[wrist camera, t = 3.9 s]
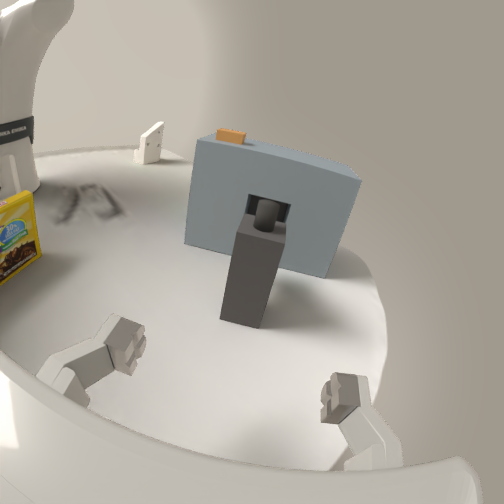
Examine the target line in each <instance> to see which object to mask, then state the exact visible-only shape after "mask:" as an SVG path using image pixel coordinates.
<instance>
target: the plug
mask: <svg viewBox="0 0 504 504" xmlns="http://www.w3.org/2000/svg"><path fill="white" fill-rule="evenodd" d="M279 208H280V205H279V204H278V203H276V202H274V201H271V200H266V199H262V200H259V203H258V207H257V211H256V216H254V215H250V214H246V213H244V215H243V218H242V220H241V222H240V225H239V227H238V229H237V232H236V237H235V242H234V247H233V252H232V257H231V262H230V267H229V272H228V277H227V283H226V288H225V293H224V298H223V304H222V309H221V314H220V319H221V320H225V321H229V322H233V323H237V324H241V325H245V326H249V327H253V328H257V329H258V328H259V325H260V322H261V319H262V316H263V313H264V310H265V307H266V304H267V301H268V298H269V295H270V291H271V288H272V285H273V282H274V279H275V276H276V273H277V269H278V266H279V263H280V260H281V257H282V253H283V250H284V247H285V242H286V223H282V222H278V221H276V219H277V215H278V211H279Z"/></svg>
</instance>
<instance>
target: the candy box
mask: <svg viewBox="0 0 504 504" xmlns="http://www.w3.org/2000/svg"><path fill="white" fill-rule="evenodd" d="M41 256H42V253H41V249H40V244H39V238H38V232H37V226H36V219H35V211H34V202H33V193H32V192H30V191H28V190H24V191H22V192H20V193H18V194H16V195H14V196H12V197H9V198H7V199H5V200H3V201H1V202H0V286H1V285H2V284H4V283H5V282H6V281H8V280H9V279H10V278H12V277H13V276H14V275H15V274H17V273H18V272H19V271H21V270H22V269H24V268H25V267H26V266H28V265H29V264H30V263H32V262H33V261H35V260H36V259H38V258H39V257H41Z"/></svg>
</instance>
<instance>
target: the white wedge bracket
mask: <svg viewBox="0 0 504 504" xmlns="http://www.w3.org/2000/svg"><path fill="white" fill-rule="evenodd" d="M163 128H164V122H158V123H157V124H155V125H154V126H153V127H152V128H151V129H149V130H148V131H147V132H145V133H144V134H143V135H142V136H141V138H140V149H135V150H134V162H137V163H140V164H148V163H152V162H156V161H160V153H161V143H162V136H163Z"/></svg>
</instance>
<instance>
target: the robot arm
mask: <svg viewBox="0 0 504 504" xmlns="http://www.w3.org/2000/svg"><path fill="white" fill-rule="evenodd" d="M73 9H74V0H20V1H18V2H17V3H15V4H13V5H12V6H10V7H8V8H6V9H4V10H1V11H0V202H1V201H3V200H5V199H7V198H9V197H12V196H14V195H16V194H18V193H20V192H22V191H24V190H28V191H30V192H32V193H33V192H34V191H35V190H36V189H37V188H38V187H39V186H40V181H39V178H38V175H37V171H36V168H35V163H34V157H33V149H32V144H33V139H34V117H33V116H32V105H33V96H34V88H35V81H36V77H37V73H38V70H39V67H40V64H41V62H42V59H43V57H44V55H45V53H46V50H47V49H48V47H49V45H50V43H51V41H52V39H53V38H54V37H55V35H56V34H57V33H58V32H59V31H60V30H61V28H62V27H63V26H64V25H65V24H66V23H67V22H68V20H69V19H70V17H71V15H72V12H73ZM144 332H145V328H144V326H143V325H141V324H138V323H136V322H133V321H131V320H128V319H125V318H123V317H121V316H118V315H115V314H112V315H110V316H109V318H108V319H107V320H106V322H105V323H104V325H103V326H102V327H101V329H100V330H99V332H98V333H97V334H96V336H95V337H94V339H92V338H89V339H87V340H85V341H82V342H80V343H78V344H76V345H73V346H71V347H69V348H66V349H64V350H62V351H60V352H57V353H55V354H53V355H50V356H49V357H48V359H47V360H46V362H45V363H44V364H43V366H42V367H41V369H40V370H39V372H38V373H37V375H36V376H33V375H32V374H31V373H29V372H28V371H26V370H25V369H24V368H22V367H21V366H20V365H18V364H17V363H16V362H15V361H13V360H12V359H11V358H10V357H8V356H7V355H6V354H5V353H4V352H2V351H1V350H0V504H484V503H483V494H482V488H481V483H480V479H479V476H478V474H477V472H476V471H475V469H474V468H473V467H472V466H471V465H470V464H469V463H468V462H467V461H466V460H465V459H464V458H463V457H461V456H454V457H450V458H446V459H442V460H438V461H433V462H428V463H422V464H417V465H410V466H404V465H403V454H402V445H401V441H400V440H399V439H398V438H397V436H396V435H395V434H394V432H393V431H392V430H391V428H390V427H389V426H388V424H387V423H386V422H385V421H384V419H383V418H382V417H381V416H380V414H379V413H378V412H377V410H376V409H375V408H373V407H372V406H371V398H370V391H369V385H368V378H367V377H366V376H360V375H354V374H345V373H337V372H335V373H333V374H332V375H331V377H330V379H331V380H330V381H328V382H326V383H325V385H324V386H323V389H322V392H321V402H322V404H323V405H324V406H323V408H322V409H321V423H330V424H338V427H339V428H340V430H341V432H342V434H343V436H344V437H345V439H346V441H347V443H348V445H349V447H350V448H351V450H352V452H353V454H354V457H352V458H351V459H349V460H347V461H346V462H344V471H312V470H296V469H285V468H276V467H268V466H261V465H254V464H248V463H243V462H237V461H232V460H228V459H223V458H218V457H214V456H210V455H206V454H202V453H198V452H195V451H191V450H188V449H184V448H181V447H178V446H175V445H172V444H169V443H166V442H163V441H160V440H157V439H154V438H152V437H149V436H146V435H144V434H141V433H139V432H136V431H134V430H131V429H129V428H127V427H124V426H122V425H120V424H118V423H115V422H113V421H111V420H109V419H107V418H105V417H103V416H101V415H99V414H97V413H95V412H93V411H91V410H89V409H87V406H88V404H89V402H90V398H89V396H88V395H87V393H86V391H85V390H84V389H86V388H87V387H89V386H91V385H92V384H94V383H95V382H97V381H99V380H100V379H102V378H103V377H105V376H107V375H108V374H110V373H111V372H113V371H114V369H115V370H117V371H120V372H122V373H125V374H127V375H130V376H132V374H133V372H134V370H135V368H136V366H137V360H136V359H138V358H140V357H142V355H143V353H144V350H145V347H146V337H145V336H144V335H143V334H144Z"/></svg>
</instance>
